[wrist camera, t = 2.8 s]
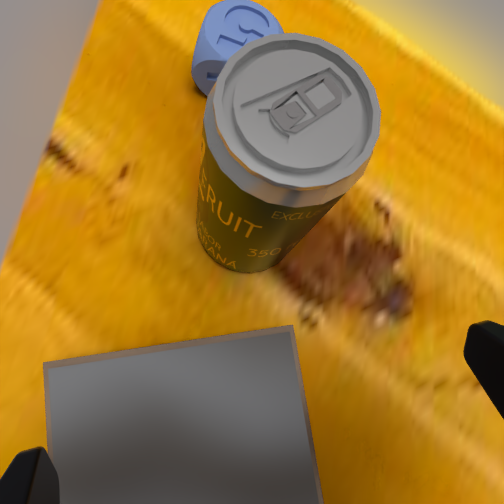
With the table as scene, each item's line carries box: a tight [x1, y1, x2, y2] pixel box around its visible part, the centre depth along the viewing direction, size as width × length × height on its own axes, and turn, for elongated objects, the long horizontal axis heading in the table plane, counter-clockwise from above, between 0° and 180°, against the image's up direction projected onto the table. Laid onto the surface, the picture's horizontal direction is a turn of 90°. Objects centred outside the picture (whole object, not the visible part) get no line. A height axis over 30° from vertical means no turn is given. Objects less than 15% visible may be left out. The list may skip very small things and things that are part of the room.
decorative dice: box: [192, 0, 284, 96], centre depth 24 cm, size 4×4×4 cm
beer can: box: [196, 33, 381, 273], centre depth 18 cm, size 5×5×12 cm
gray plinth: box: [43, 325, 324, 504], centre depth 20 cm, size 11×11×3 cm
